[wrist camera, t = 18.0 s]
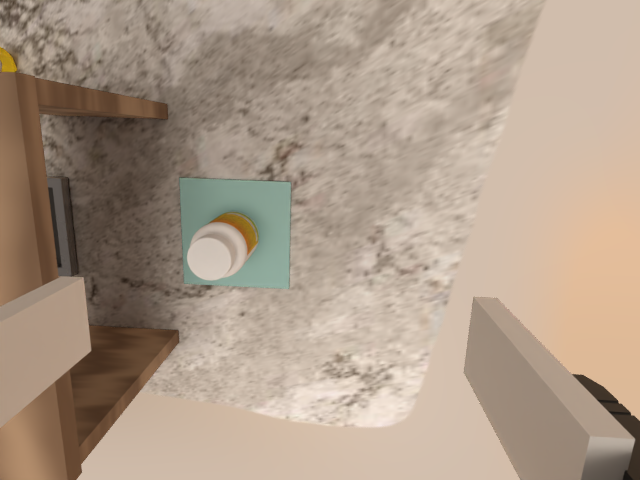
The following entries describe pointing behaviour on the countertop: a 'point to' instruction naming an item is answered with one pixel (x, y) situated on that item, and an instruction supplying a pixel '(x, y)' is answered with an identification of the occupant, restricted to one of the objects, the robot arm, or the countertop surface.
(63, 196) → the tray
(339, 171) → the countertop surface
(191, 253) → the supplement bottle
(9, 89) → the tunnel
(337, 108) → the countertop surface
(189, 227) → the pad
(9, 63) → the watch
